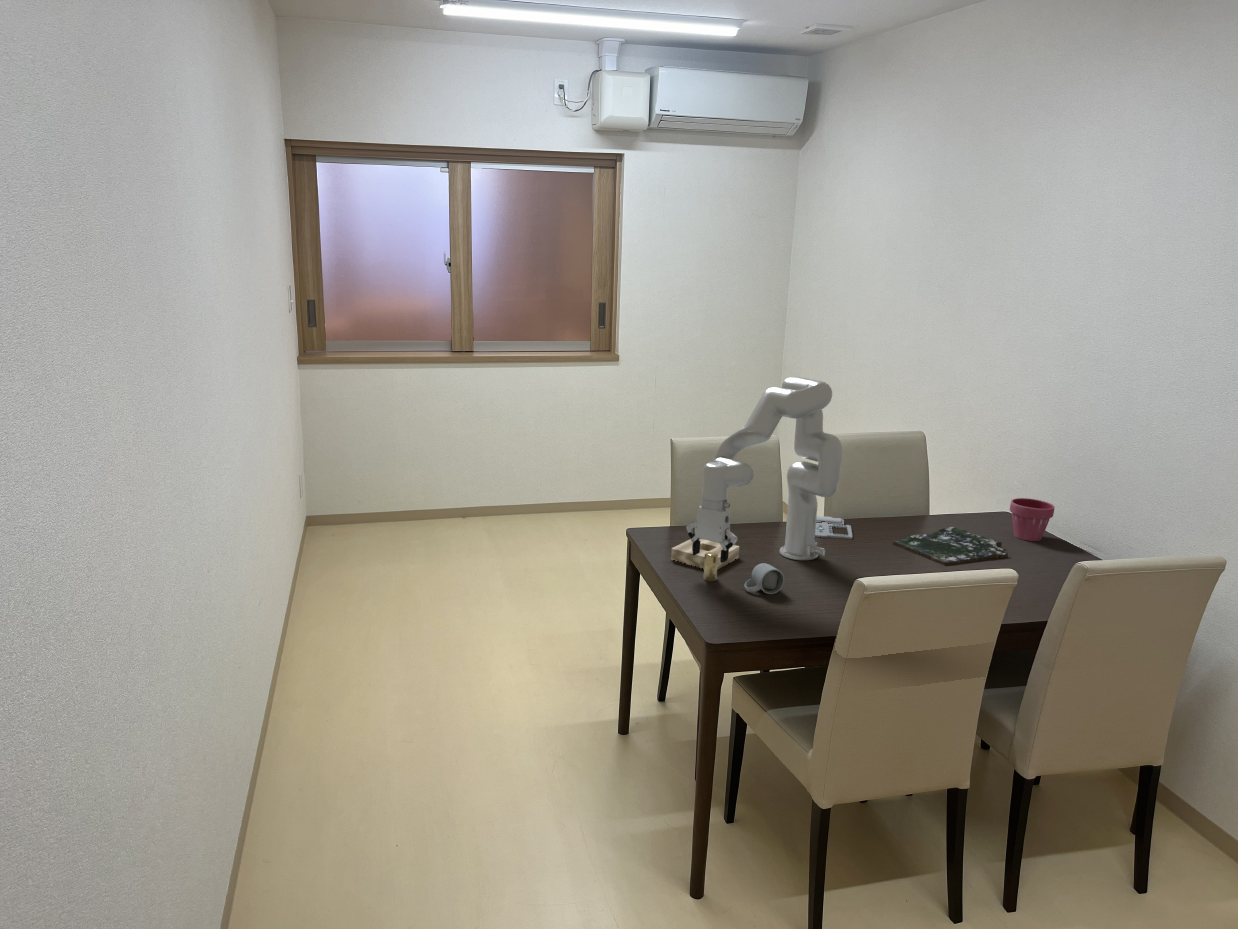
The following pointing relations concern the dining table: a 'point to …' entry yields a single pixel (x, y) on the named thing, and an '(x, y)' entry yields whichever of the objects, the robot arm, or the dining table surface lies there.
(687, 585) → the dining table surface
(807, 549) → the robot arm
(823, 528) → the office telephone
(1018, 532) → the plant pot
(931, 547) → the topographical map
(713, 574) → the brass pin
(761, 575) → the ceramic mug
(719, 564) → the block
